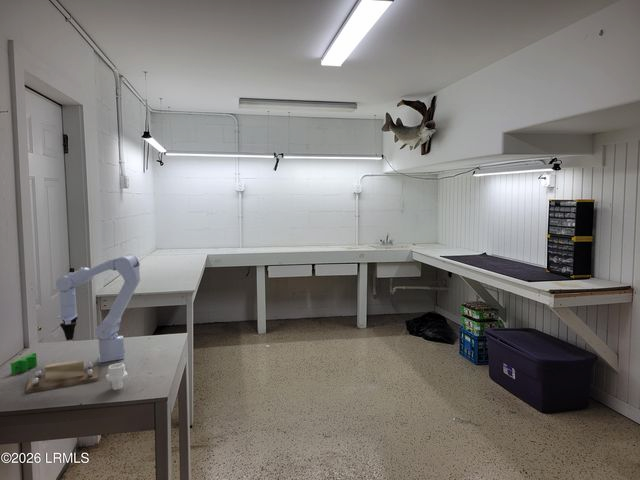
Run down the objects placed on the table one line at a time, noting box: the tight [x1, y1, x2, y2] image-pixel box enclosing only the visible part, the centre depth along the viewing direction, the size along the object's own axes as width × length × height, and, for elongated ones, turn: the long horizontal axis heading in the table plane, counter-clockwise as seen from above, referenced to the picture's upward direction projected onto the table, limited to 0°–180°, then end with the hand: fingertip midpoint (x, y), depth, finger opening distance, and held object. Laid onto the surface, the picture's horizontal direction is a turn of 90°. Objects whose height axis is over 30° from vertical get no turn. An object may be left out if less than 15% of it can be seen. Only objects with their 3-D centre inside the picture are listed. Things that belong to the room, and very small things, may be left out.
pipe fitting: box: [105, 362, 129, 391], centre depth 152 cm, size 6×7×8 cm
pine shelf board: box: [44, 359, 85, 381], centre depth 158 cm, size 3×12×5 cm, turn 117°
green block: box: [10, 352, 38, 375], centre depth 170 cm, size 11×4×5 cm, turn 173°
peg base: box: [25, 361, 100, 394], centre depth 158 cm, size 22×12×4 cm, turn 117°
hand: (70, 337), depth 179 cm, fingers open, 7 cm apart
